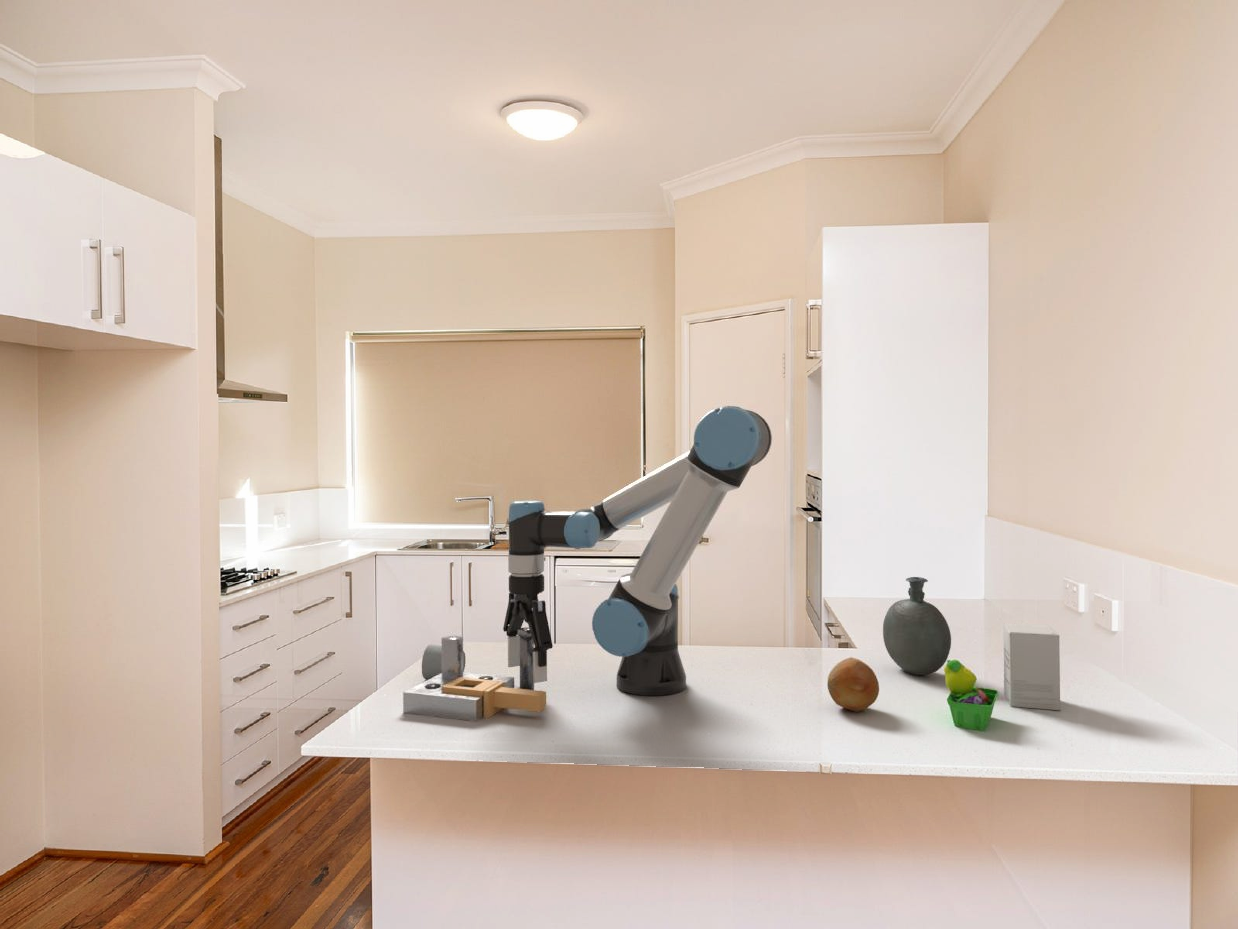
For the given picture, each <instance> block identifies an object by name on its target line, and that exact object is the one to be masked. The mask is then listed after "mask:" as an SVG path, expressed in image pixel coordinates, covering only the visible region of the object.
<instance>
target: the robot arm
mask: <svg viewBox="0 0 1238 929" xmlns="http://www.w3.org/2000/svg"><path fill="white" fill-rule="evenodd" d="M772 437H773V436H772V430H771V428H770V426H769V424H768V422H767V421H766V419H765V418H763V417H762V415H760V414H759V413H758V412H755V411H752V410H748V409H746V408H745V409H744V408H742V407H740V406H735V405H734V406H732V405H728V406H727V405H726V406H721V407H717V408H715V409H712V410H710V411H708V412H707V413H706V414H705V415H703V417H701V419H700V420H699V421H698V423H697V425H696V427H695V430H694V434H693V444H692V447H691V448H690V450H688V451H686V452H685V453H684V454H682V455H679V456H678V457H676V458H674V459H673V460H671V461H669V462H668V463H665V464H664V465H662V466H661V467H659V468H657V469H655V470H653V471H652V472H649V473H648V474H647V475H644V476H643V477H640V478H639V479H638V480H636V481H634V482H632V483H630V484H629V485H627V486H625V487H623V488H622V489H620V490H618V491H617V492H614V493H612V494H611V495H609V496H607V497H606V498H604V499H603V500H600V501H598V502H597V503H595V504H593V505H592V506H590V507H587V508H582V509H576V510H568V511H566V510H562V511H559V510H558V511H557V510H556V511H553V510H551V511H550V510H545V509H546V508H545V503H544V502H543V501H540V500H516V501H512V502H511V503H510V504H509V508H508V519H507V520H508V521H507V525H508V556H507V558H508V559H507V560H508V563H507V565H508V567H507V568H508V569H507V571H508V573H509V574H510V575H509V576H508V592H509V593H508V604H507V608H506V613H505V618H504V622H503V628H502V629H503V632H505V633H506V637H507V667H508V668H515V667H520V636H518V629H519V628H523V627H522V626H523V624H524V622H525V623H527V625H528V627H529V629H530V632H531V635H532V639H533V642H534V648H533V682H534V684H536V683H542V682H544V683H545V682H547V681H548V650H551V649H553V647H554V646H553V641H552V636H551V630H550V626H549V621H548V616H547V609H546V608H547V607H546V601H545V600H539V598H538V597H539V596H538V595H539V594H542V593H543V592H544V591H545V575H544V574H543V573H544V571H545V561H546V557H545V548H548V547H551V548H553V547H554V548H566V549H575V550H580V549H592V548H594V547H595V546H596V544H597V543H598V542H603V541H605V540H607V539H608V538H610V537H612V536H613V535H614V534H615V533H616V532H618V531H619V530H621V529H623V528H625V527H627V526H628V525H631V524H632V523H634V522H635V521H638V520H640V519H642V518H644V517H645V516H647V515H649V514H651V513H653V512H655V511H656V510H658V509H659V508H662V507H663V506H665V505H667V504H669V505H668V506H667V508H666V510H665V511H664V514H663V515H662V517H661V519H660V521H659V522H658V525H657V526H656V528H655V530H654V531H653V533H652V535H651V537H650V539H649V540H648V543H647V544H646V546H645V548H644V550H643V552H642V553H641V555H640V557H639V558H638V560H637V562H636V563H635V565H634V567H633V569H632V572H630V573H625V574H623V575H621V576H620V577H619V579H618V581H617V583H616V584H615V587H614V588H613V590H612V592H611V593H610V595H609V597H608V598H607V599H605V600H603V601H602V602H601V603H600V604H599V605H598V606H597V607H596V609H595V610H594V612H593V616H592V619H591V620H592V622H591V626H592V628H591V629H592V631H593V635H594V638H595V640H596V642H597V643H598V645H599V646H600V647H601V648H602V650H604V651H605V652H607V653H608V654H610V655H612V656H614V657H615V656H616V657H620V658H621V660H620V664H619V666H618V669H617V673H616V687H617V688H618V689H619V690H621V691H622V692H626V693H628V694H632V695H637V696H638V695H639V696H666V695H672V694H673V695H674V694H676V693H679V692H682V691H683V690H685V689H686V687H687V675H686V672H685V669H684V668H685V667H684V665H683V662H682V659H681V655H680V653H679V599H680V598H679V596H680V595H679V593H678V591H679V590H678V585H677V581H678V580H679V578H680V576H681V575H682V573H683V571H684V570H685V568H686V566H687V564H688V562H689V560H690V558H691V556H692V555H693V553H694V551H695V550H696V548H697V546H698V545H699V542H700V541H701V539H702V538H703V536H704V534H705V533H706V530H707V528H708V527H709V526H710V523H711V522H712V520H713V518H715V515H716V513H717V512H718V510H719V508H720V507H721V504H722V502H723V501H724V500H725V497H726V495H727V494H728V493H729V492H730V491H734V490H737V489H739V488H741V485H742V483H743V482H744V480H745V478H746V477H747V475H748V473H749V472H750V469H751V468H752V467H754V466H756V465H758V464H759V463H761V461H763V460H764V459H765V458H766V457H767V455H768V453H769V452H770V449H771V446H772V441H773V438H772Z"/></svg>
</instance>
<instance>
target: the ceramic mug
mask: <svg viewBox="0 0 1238 929" xmlns="http://www.w3.org/2000/svg"><path fill="white" fill-rule="evenodd" d="M421 659H422V660H421V675H422V677H423V679H424V680H425V681H427V680H429V679H431V678H433V677H435V676H437V675H439V674H441V673H442V644H440V645H439V644H433V643H431V644H428V645H427V646H426V647H425V650H424V651H423V655H422V658H421ZM465 667H466V653H465V651H464V650H463V672H465Z"/></svg>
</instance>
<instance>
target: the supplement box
mask: <svg viewBox="0 0 1238 929" xmlns="http://www.w3.org/2000/svg"><path fill="white" fill-rule="evenodd" d="M1060 653H1061V652H1060V634H1058V633H1057V632H1056V630H1054V628H1053V627H1052V626H1051V625H1050V626H1049V625H1038V624H1037V625H1036V624H1017V623H1016V624H1015V623H1003V694H1004V696H1005V698H1006V700H1007V702H1008V704H1009V705H1010V707H1013V708H1029V709H1038V710H1052V711H1060V710H1061V672H1060V671H1061V668H1060V667H1061V666H1060V661H1061V657H1060Z"/></svg>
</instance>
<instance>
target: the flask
mask: <svg viewBox="0 0 1238 929" xmlns="http://www.w3.org/2000/svg"><path fill="white" fill-rule="evenodd" d="M905 581H906V582H909V583H908V584H909V587H908V591H907V593H908V596H909V598H907V599H899V600H898V601H895V602H894V603H892V605H890V606H889V608H888V610H887V612H886V614H885V616H884V619H883V622H882V623H883V625H882V636H883V637H882V638H883V643H884V646H885V649H886V651H887V653H888V655H889V657H890V658H891V659H892V660H893V662H894V663H895V664H896V665H897V666H898V667H899V668H901V669H902V670H903V671H904V672H907V673H909V674H911V675H914V676H928V675H931V674H934V673H936V672H938V671H939V670H940V669H942V667H943V666H945V665H946V663H947V661H948V658H949V654H950V650H951V648H952V634H951V629H950V626H949V624H948V621H947V619H946V617H945V616H944V615H943V613H942V612H941V611H940V610H939V609H938V607H936V606H935V605H934V604H932V603H929V602H927V601H925V600H924V599H925V595H926V594H925V592H924V590H923V588H924V586H925V583H928V582H929V580H928V579H926V578H924V577H920V576H910V577H908V578H905Z"/></svg>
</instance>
